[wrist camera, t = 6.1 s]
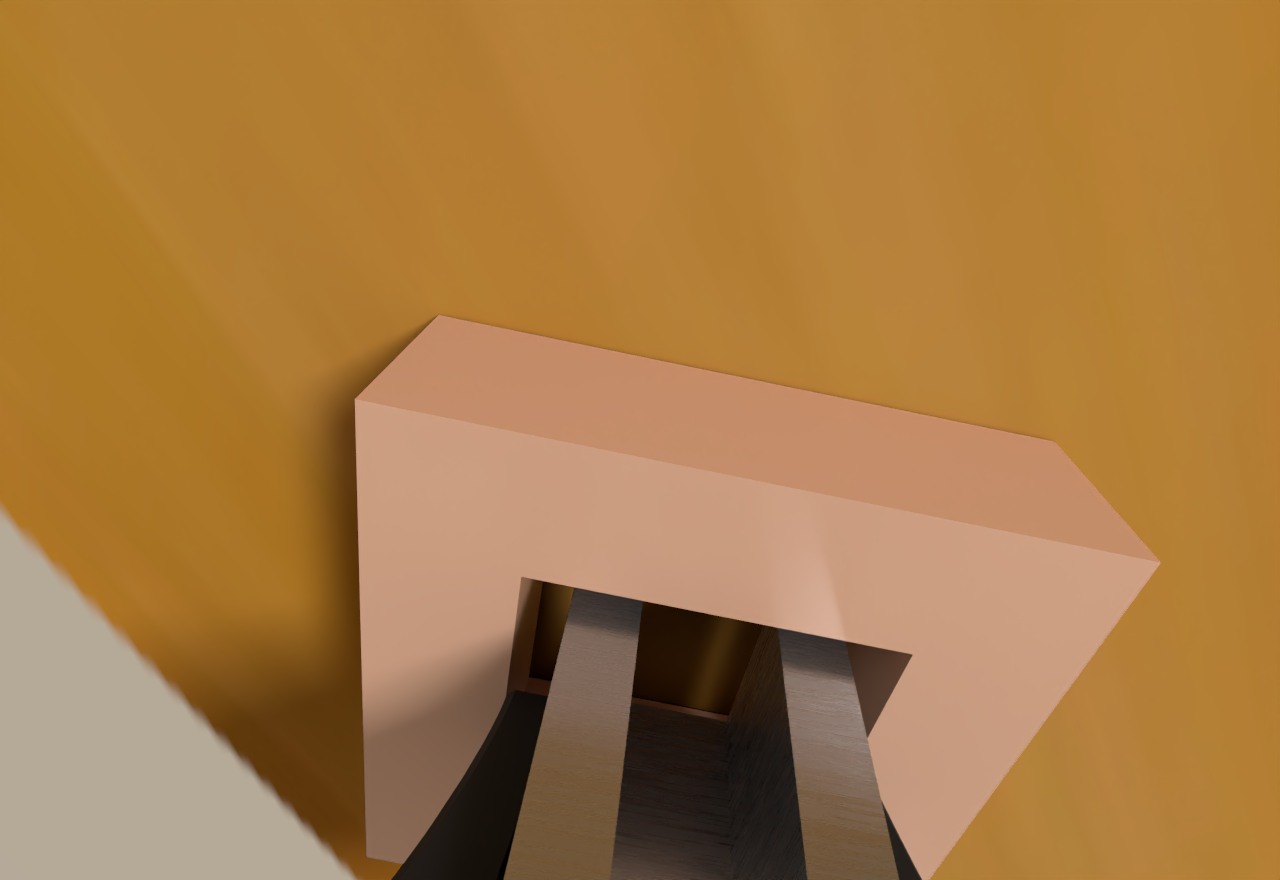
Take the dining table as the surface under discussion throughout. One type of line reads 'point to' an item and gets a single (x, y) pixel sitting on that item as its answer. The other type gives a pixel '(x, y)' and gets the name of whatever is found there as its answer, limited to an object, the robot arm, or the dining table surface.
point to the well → (714, 556)
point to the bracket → (699, 768)
